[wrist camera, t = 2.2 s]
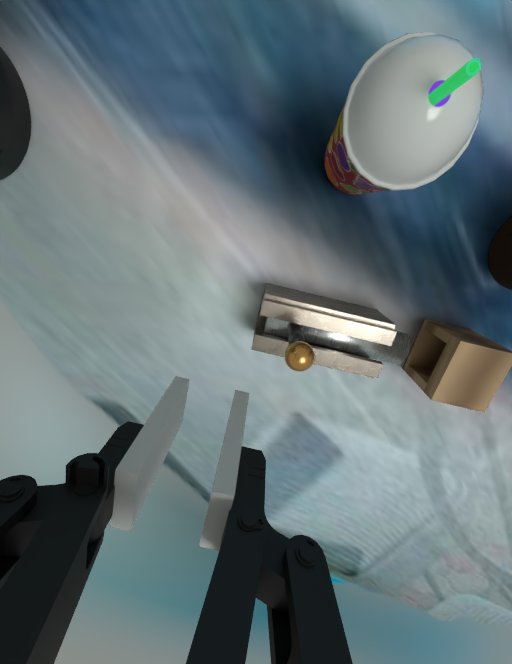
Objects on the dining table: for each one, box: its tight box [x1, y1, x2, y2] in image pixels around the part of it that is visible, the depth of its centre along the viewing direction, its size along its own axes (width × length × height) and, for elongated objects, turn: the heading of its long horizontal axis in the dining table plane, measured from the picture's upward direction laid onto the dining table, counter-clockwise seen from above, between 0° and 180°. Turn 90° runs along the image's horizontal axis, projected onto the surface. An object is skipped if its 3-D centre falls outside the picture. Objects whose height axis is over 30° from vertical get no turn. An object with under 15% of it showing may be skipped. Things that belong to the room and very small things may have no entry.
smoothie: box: [325, 32, 484, 195], centre depth 22 cm, size 8×8×20 cm
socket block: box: [403, 319, 512, 412], centre depth 35 cm, size 6×7×8 cm
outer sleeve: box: [252, 283, 397, 378], centre depth 35 cm, size 14×6×7 cm, turn 77°
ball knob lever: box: [264, 317, 410, 371], centre depth 31 cm, size 16×4×12 cm, turn 77°
